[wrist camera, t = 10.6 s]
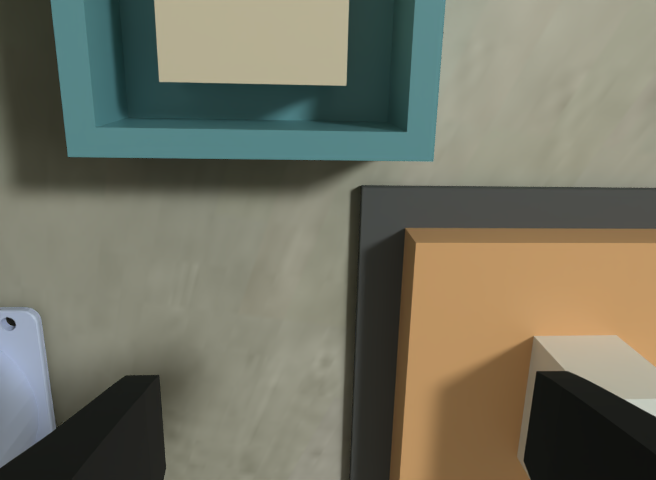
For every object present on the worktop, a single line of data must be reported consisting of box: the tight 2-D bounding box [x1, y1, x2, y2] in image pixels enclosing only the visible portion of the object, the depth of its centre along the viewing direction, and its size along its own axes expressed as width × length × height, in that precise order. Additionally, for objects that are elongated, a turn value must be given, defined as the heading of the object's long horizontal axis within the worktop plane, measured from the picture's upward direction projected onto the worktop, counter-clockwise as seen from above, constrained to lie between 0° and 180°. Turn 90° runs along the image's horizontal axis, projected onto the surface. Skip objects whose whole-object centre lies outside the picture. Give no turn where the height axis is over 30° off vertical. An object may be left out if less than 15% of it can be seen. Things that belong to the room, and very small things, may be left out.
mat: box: [350, 185, 656, 480], centre depth 23 cm, size 15×15×1 cm
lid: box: [389, 228, 656, 480], centre depth 20 cm, size 12×12×6 cm
